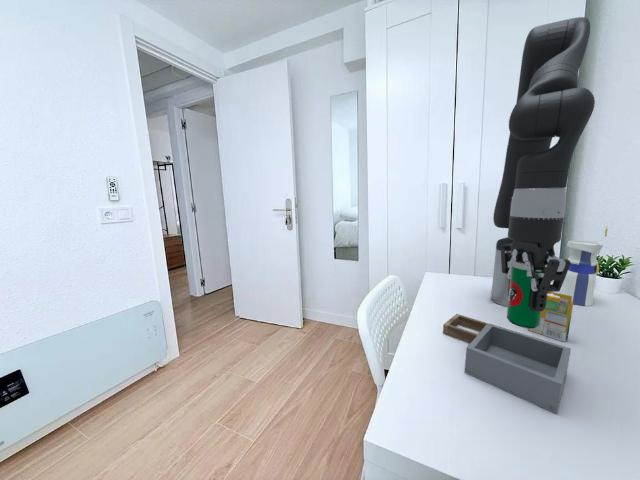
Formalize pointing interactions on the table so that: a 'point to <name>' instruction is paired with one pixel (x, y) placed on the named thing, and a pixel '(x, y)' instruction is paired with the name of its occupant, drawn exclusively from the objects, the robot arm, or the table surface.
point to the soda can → (522, 298)
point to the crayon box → (555, 317)
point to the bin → (519, 365)
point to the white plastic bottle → (582, 271)
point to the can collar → (462, 334)
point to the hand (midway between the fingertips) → (524, 303)
